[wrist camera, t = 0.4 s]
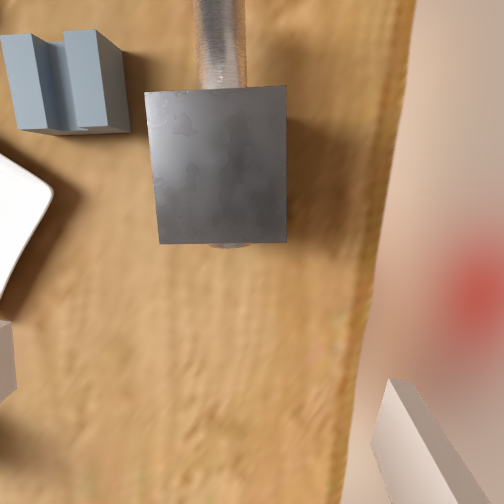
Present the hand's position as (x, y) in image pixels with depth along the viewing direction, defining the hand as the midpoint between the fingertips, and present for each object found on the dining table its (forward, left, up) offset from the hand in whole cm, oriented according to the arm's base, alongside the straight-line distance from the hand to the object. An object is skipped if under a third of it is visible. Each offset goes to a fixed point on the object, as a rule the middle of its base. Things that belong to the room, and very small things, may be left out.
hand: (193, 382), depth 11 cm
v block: (-16, -17, -26) cm, 35 cm away
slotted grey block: (-7, -1, -26) cm, 27 cm away
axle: (-11, -1, -19) cm, 22 cm away
